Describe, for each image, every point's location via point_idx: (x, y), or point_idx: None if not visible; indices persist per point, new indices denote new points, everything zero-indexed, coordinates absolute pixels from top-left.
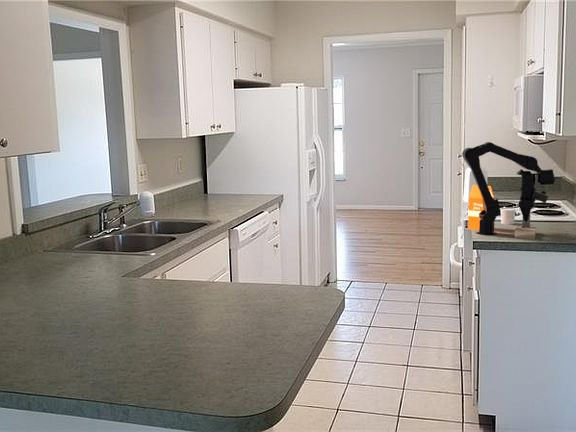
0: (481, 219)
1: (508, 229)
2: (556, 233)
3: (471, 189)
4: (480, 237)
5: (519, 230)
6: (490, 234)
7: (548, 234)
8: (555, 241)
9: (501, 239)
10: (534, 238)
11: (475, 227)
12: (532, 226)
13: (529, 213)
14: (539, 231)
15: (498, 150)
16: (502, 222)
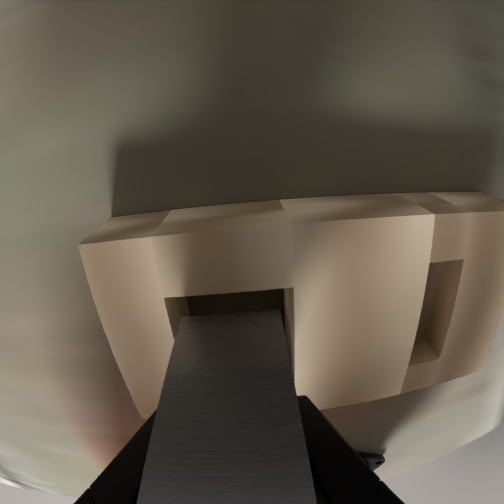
0: None
1: (96, 414)
2: (64, 23)
3: None
4: (432, 452)
5: (457, 352)
6: (371, 455)
7: (152, 72)
8: (501, 35)
9: (485, 377)
10: (484, 196)
11: None
12: (135, 283)
13: (314, 501)
14: (26, 196)
15: None
16: None
